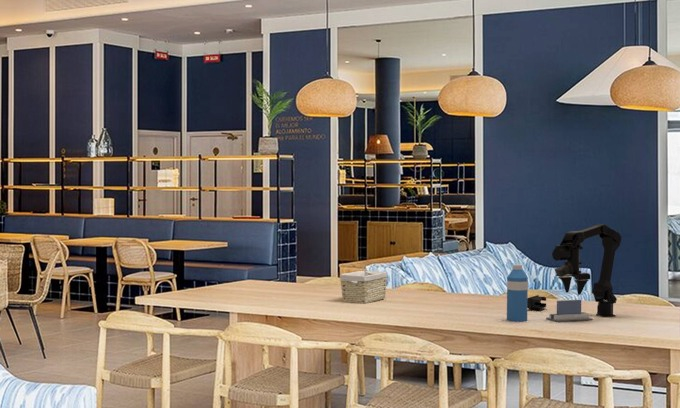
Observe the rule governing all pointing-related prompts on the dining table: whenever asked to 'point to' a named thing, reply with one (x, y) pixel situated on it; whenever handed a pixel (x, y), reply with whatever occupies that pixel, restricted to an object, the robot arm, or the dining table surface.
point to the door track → (569, 317)
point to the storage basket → (363, 286)
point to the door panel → (569, 307)
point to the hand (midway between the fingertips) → (573, 293)
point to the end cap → (536, 303)
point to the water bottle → (517, 295)
